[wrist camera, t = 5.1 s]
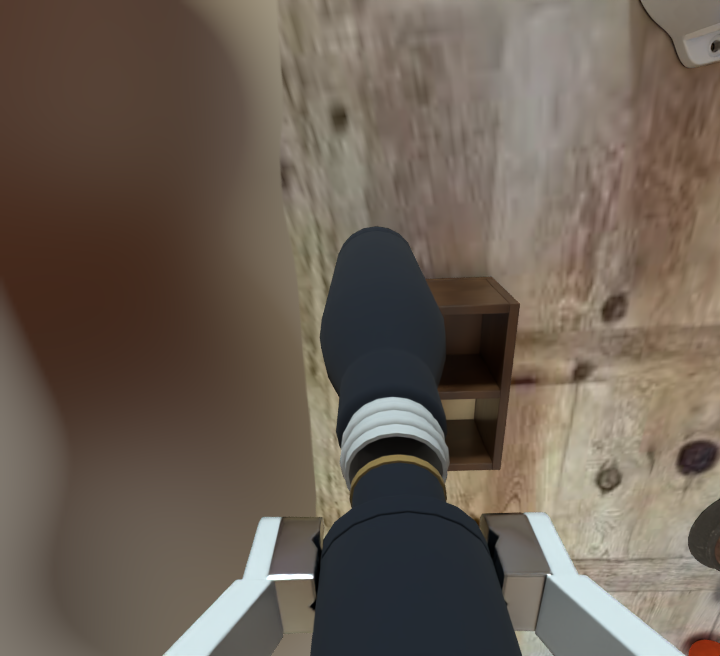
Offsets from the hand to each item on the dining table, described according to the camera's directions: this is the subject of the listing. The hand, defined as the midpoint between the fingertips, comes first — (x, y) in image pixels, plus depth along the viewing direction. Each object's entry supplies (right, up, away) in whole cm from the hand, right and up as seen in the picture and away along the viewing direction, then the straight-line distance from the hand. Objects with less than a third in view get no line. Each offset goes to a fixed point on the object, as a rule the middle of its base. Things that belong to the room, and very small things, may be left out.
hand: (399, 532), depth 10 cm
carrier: (+9, +2, +38) cm, 39 cm away
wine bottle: (0, +10, +24) cm, 26 cm away
